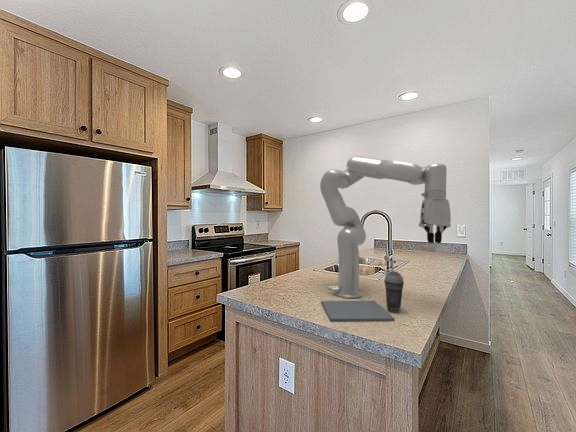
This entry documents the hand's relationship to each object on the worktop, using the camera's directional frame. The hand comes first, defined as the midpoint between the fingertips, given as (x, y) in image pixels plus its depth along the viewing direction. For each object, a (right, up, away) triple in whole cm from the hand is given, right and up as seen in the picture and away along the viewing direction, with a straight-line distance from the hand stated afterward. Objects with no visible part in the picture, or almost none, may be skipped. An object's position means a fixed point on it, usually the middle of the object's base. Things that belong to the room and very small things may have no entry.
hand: (434, 242), depth 109 cm
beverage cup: (-16, -27, 0) cm, 32 cm away
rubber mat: (-32, -27, -1) cm, 42 cm away
